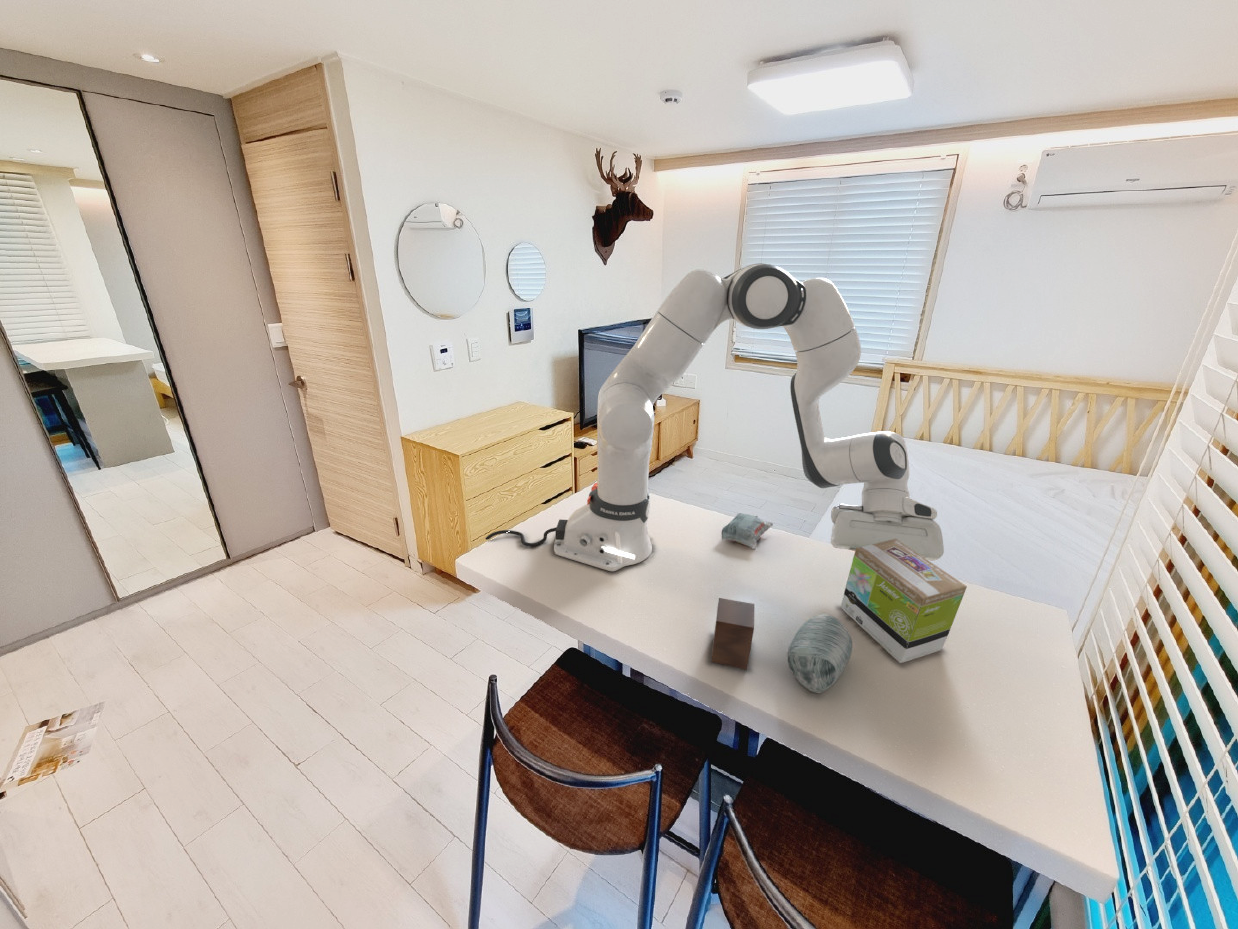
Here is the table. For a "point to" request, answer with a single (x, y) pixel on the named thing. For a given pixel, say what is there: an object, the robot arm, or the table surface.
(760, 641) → the table surface
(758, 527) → the packaged food
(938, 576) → the tea box
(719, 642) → the walnut block
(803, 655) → the spool
